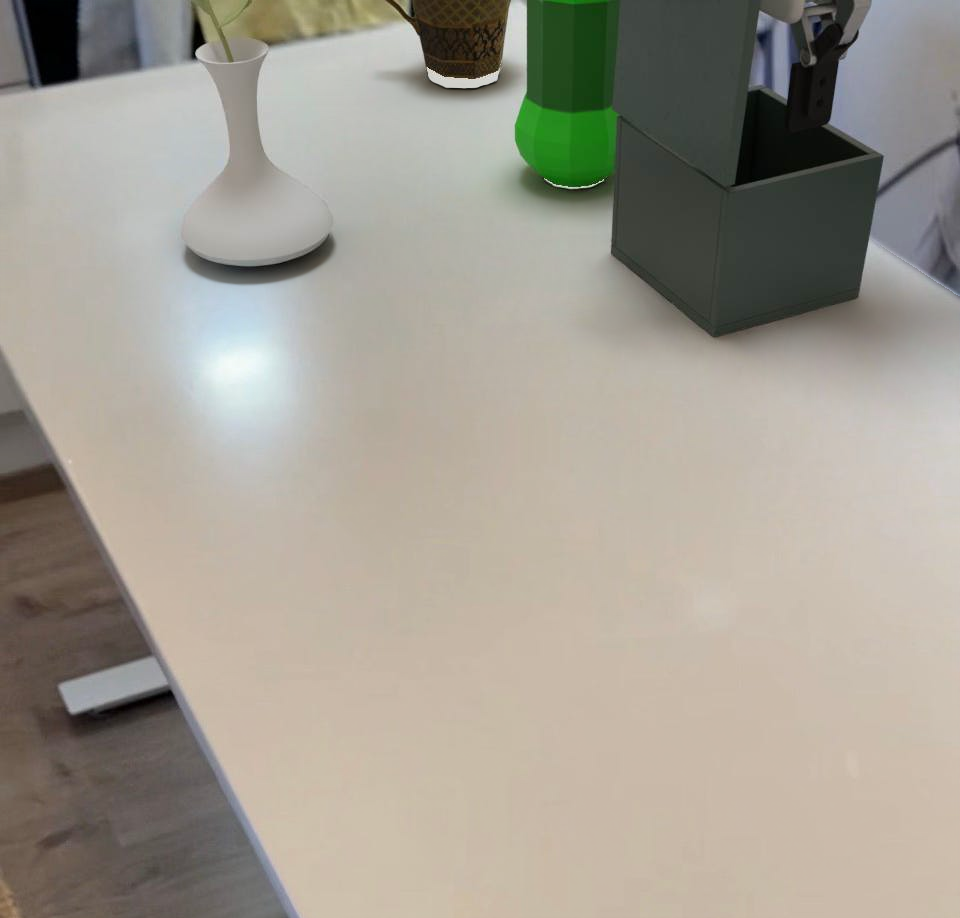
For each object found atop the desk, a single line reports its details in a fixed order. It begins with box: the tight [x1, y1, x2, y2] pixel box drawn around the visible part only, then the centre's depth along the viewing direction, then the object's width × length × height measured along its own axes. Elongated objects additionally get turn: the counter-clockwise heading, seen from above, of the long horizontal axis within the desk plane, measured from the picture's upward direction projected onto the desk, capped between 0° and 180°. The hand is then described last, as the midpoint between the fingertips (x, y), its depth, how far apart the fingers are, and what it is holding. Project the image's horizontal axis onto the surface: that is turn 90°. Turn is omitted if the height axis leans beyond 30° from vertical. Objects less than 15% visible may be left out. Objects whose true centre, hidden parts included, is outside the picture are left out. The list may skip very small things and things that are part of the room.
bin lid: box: [612, 0, 761, 186], centre depth 87 cm, size 13×14×5 cm
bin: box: [610, 84, 885, 338], centre depth 97 cm, size 12×14×10 cm
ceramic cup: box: [384, 0, 512, 79], centre depth 125 cm, size 13×10×10 cm
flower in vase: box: [180, 0, 334, 267], centre depth 97 cm, size 13×11×25 cm
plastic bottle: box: [514, 0, 620, 187], centre depth 104 cm, size 10×10×25 cm
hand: (764, 102), depth 93 cm, fingers open, 9 cm apart
